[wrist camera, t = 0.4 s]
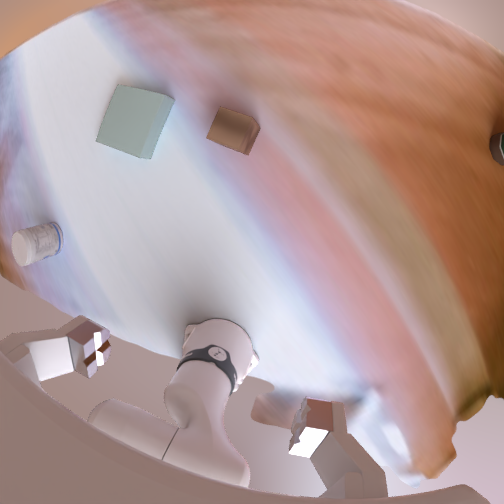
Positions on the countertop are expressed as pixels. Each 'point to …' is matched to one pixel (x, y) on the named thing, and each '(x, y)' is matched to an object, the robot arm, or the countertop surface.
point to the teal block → (134, 120)
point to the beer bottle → (497, 147)
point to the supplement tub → (36, 243)
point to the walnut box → (234, 130)
